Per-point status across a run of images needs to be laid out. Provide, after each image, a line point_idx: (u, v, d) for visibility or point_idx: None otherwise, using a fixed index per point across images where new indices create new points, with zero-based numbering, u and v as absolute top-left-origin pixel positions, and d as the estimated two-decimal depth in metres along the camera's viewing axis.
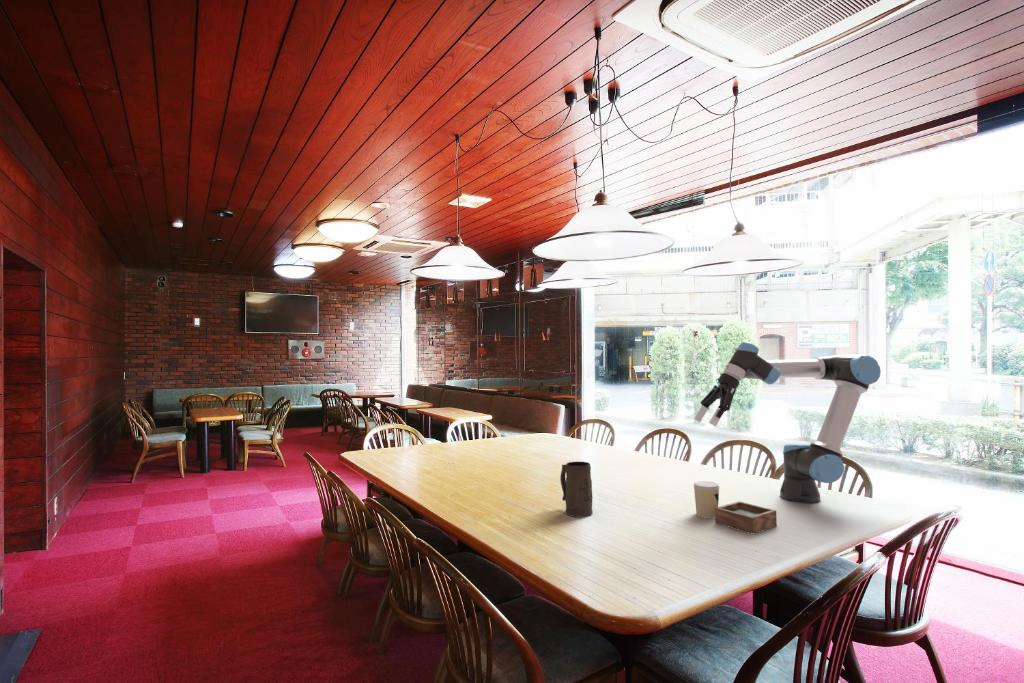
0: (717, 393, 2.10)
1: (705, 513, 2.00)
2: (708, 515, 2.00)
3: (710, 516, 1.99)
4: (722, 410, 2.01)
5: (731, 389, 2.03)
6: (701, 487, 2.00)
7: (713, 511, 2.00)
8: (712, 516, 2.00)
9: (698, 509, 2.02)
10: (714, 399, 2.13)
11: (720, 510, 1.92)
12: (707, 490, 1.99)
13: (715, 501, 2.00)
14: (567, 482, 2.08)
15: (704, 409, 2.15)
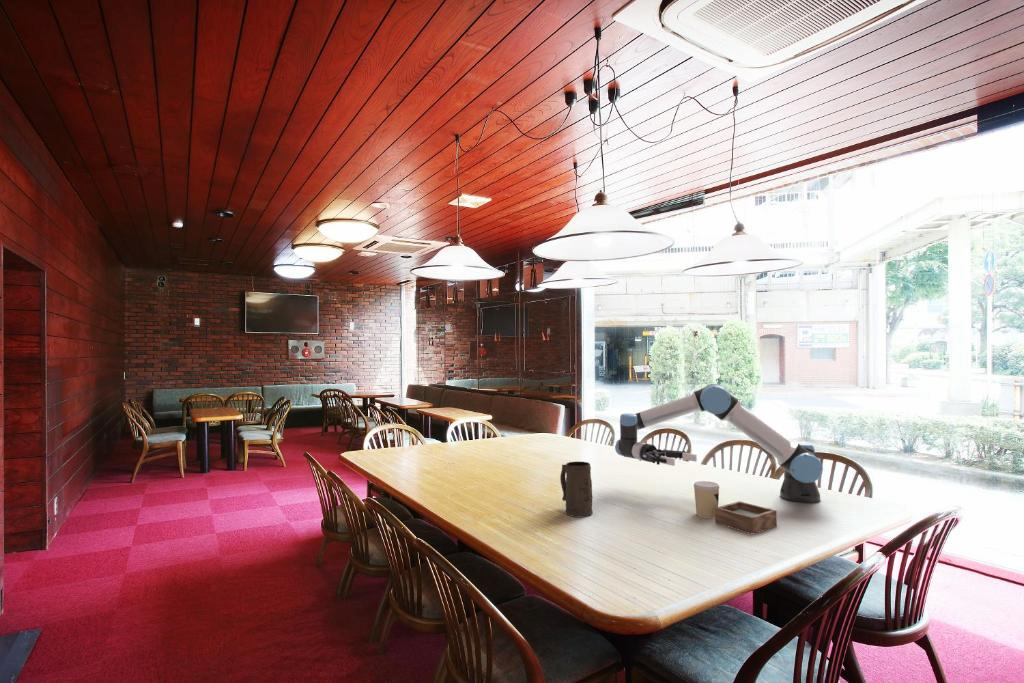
0: None
1: (705, 513, 2.00)
2: (708, 515, 2.00)
3: (710, 516, 1.99)
4: (658, 460, 2.13)
5: (644, 457, 2.21)
6: (701, 487, 2.00)
7: (713, 511, 2.00)
8: (712, 516, 2.00)
9: (698, 509, 2.02)
10: (670, 453, 2.23)
11: (720, 510, 1.92)
12: (707, 490, 1.99)
13: (715, 501, 2.00)
14: (567, 482, 2.08)
15: (684, 455, 2.20)
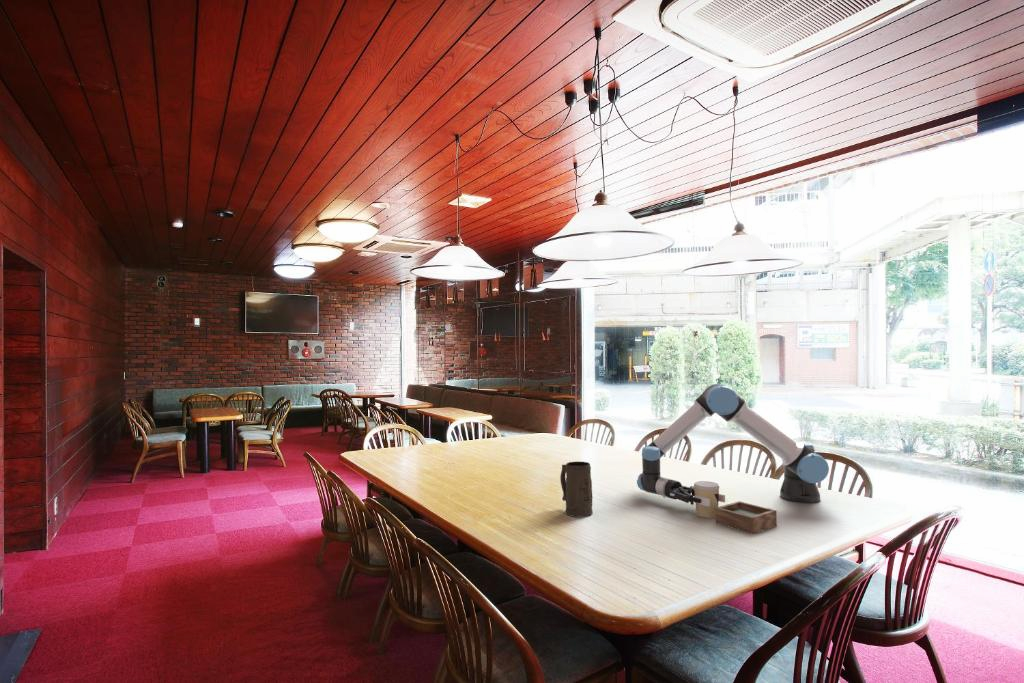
0: None
1: (705, 513, 2.00)
2: (708, 515, 2.00)
3: (710, 515, 2.00)
4: (692, 500, 2.01)
5: (671, 496, 2.09)
6: (701, 487, 2.00)
7: (713, 511, 2.00)
8: (712, 516, 2.00)
9: (698, 509, 2.02)
10: None
11: (720, 510, 1.92)
12: (707, 490, 1.99)
13: (715, 501, 2.00)
14: (567, 482, 2.08)
15: None
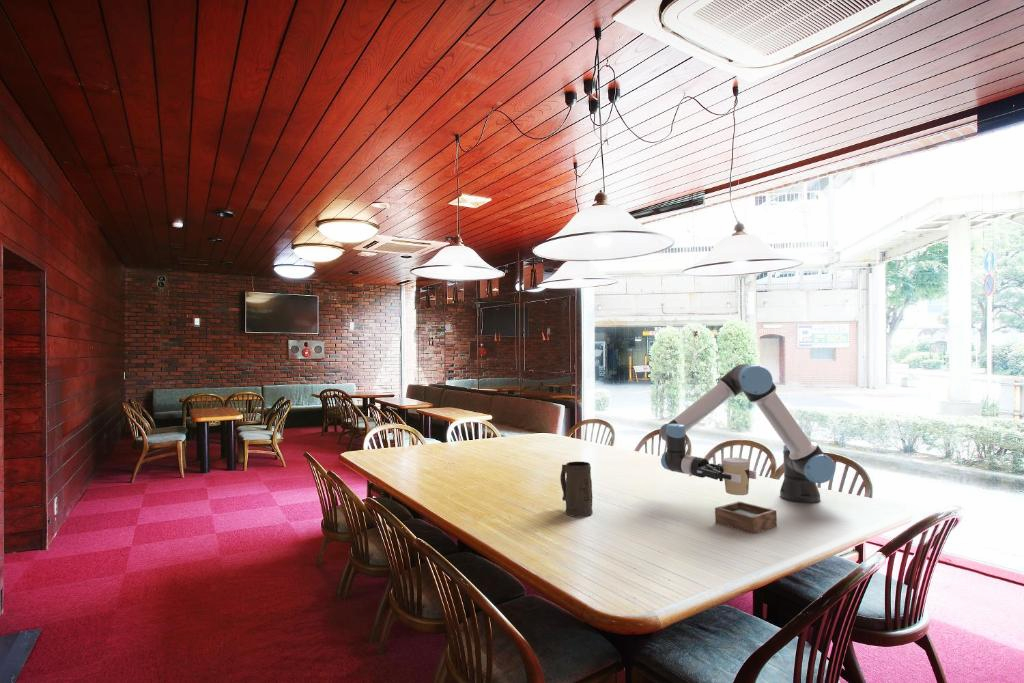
0: None
1: (735, 490, 1.91)
2: (739, 492, 1.90)
3: (740, 492, 1.90)
4: (721, 476, 1.92)
5: (699, 473, 2.00)
6: (731, 463, 1.91)
7: (743, 488, 1.90)
8: (743, 493, 1.90)
9: (728, 486, 1.93)
10: None
11: (720, 510, 1.92)
12: (737, 466, 1.90)
13: (746, 477, 1.90)
14: (567, 482, 2.08)
15: None
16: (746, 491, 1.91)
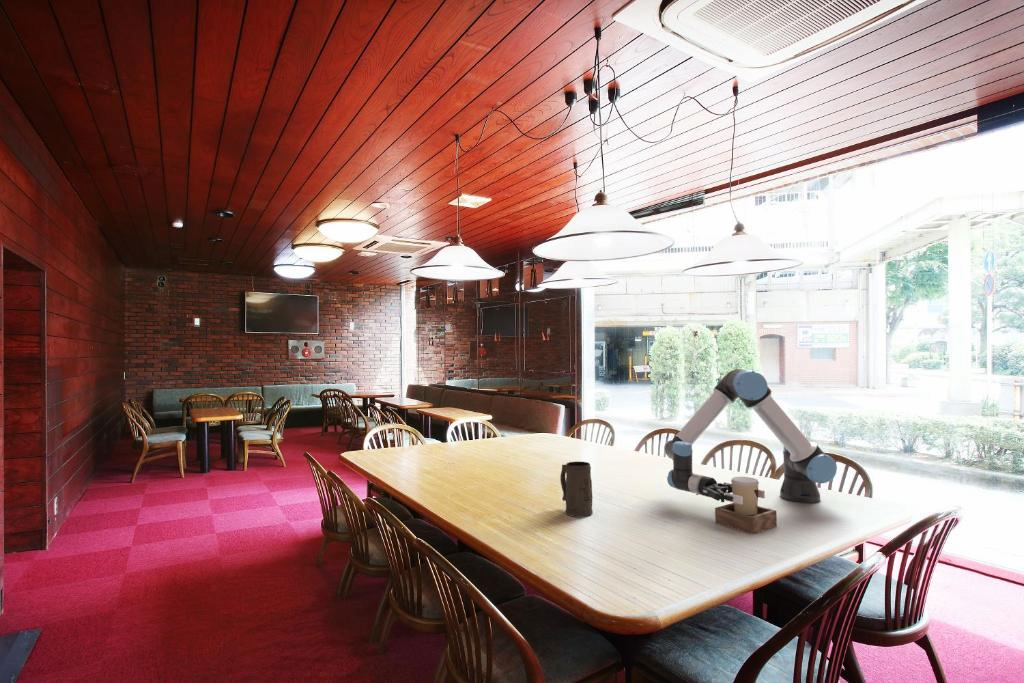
0: None
1: (744, 510, 1.91)
2: (748, 512, 1.91)
3: (749, 512, 1.91)
4: (723, 497, 1.90)
5: (704, 492, 1.99)
6: (740, 483, 1.91)
7: (752, 508, 1.91)
8: (752, 513, 1.91)
9: (737, 506, 1.93)
10: None
11: (720, 510, 1.92)
12: (746, 486, 1.90)
13: (755, 497, 1.91)
14: (567, 482, 2.08)
15: None
16: (755, 511, 1.91)
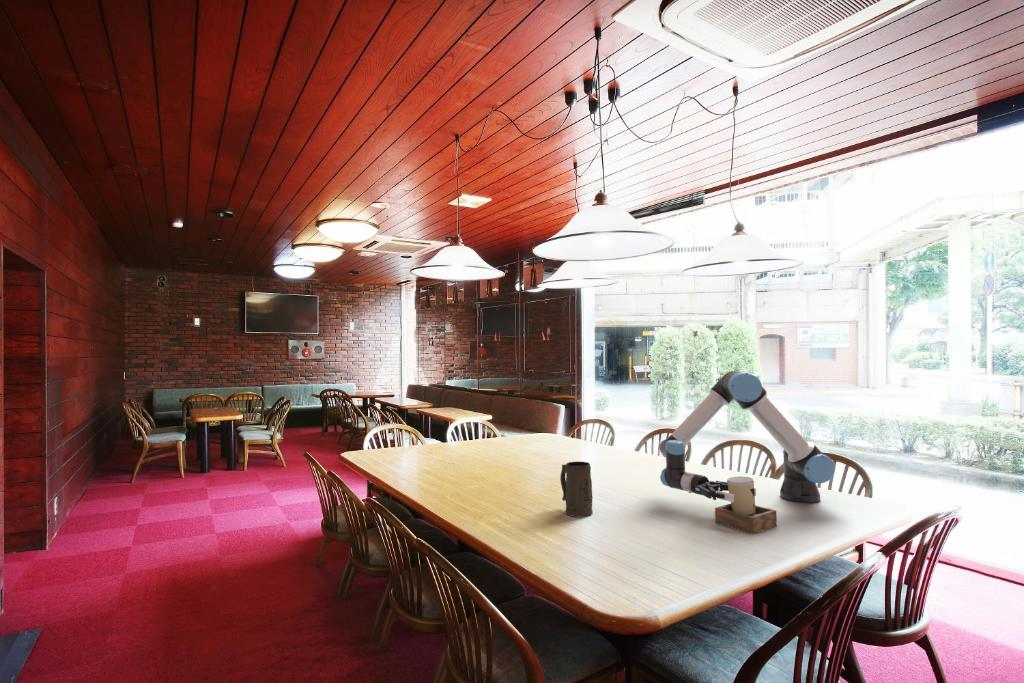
0: None
1: (742, 510, 1.92)
2: (746, 512, 1.91)
3: (747, 512, 1.91)
4: (715, 495, 1.93)
5: (696, 490, 2.01)
6: (736, 483, 1.92)
7: (750, 507, 1.91)
8: (750, 512, 1.91)
9: (734, 506, 1.94)
10: (725, 486, 2.03)
11: (720, 510, 1.92)
12: (742, 485, 1.91)
13: (751, 496, 1.91)
14: (567, 482, 2.08)
15: None
16: (753, 510, 1.92)
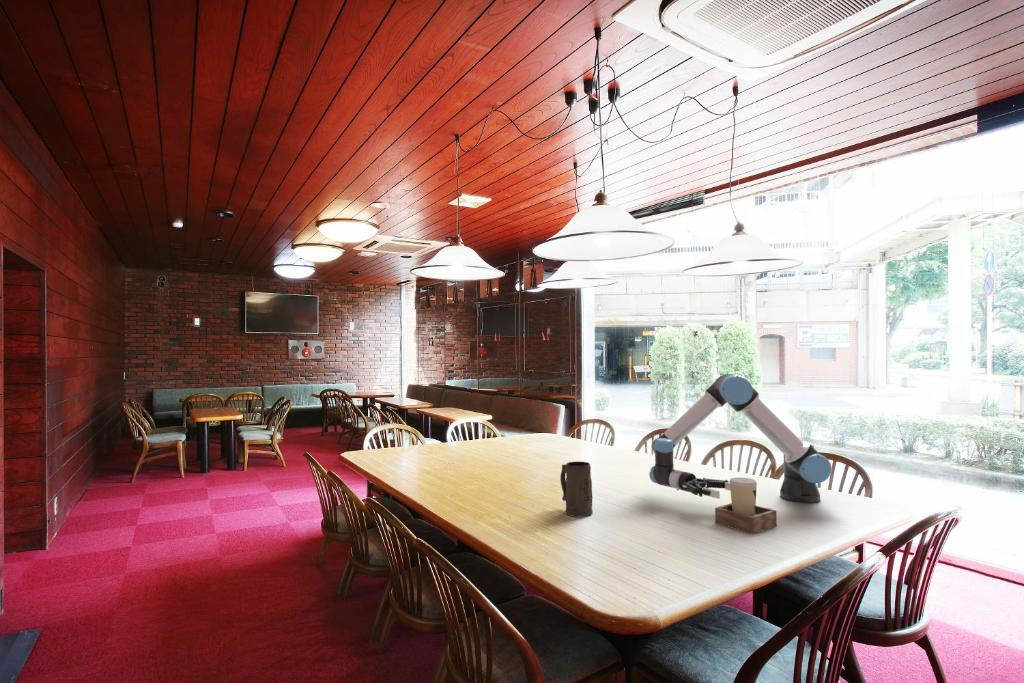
0: None
1: (743, 511, 1.91)
2: (747, 513, 1.91)
3: (748, 513, 1.91)
4: (701, 492, 1.97)
5: (684, 487, 2.06)
6: (739, 483, 1.92)
7: (751, 508, 1.91)
8: (750, 513, 1.91)
9: (735, 507, 1.93)
10: (711, 483, 2.08)
11: (720, 510, 1.92)
12: (746, 486, 1.91)
13: (753, 498, 1.91)
14: (567, 482, 2.08)
15: (727, 485, 2.05)
16: (753, 511, 1.92)
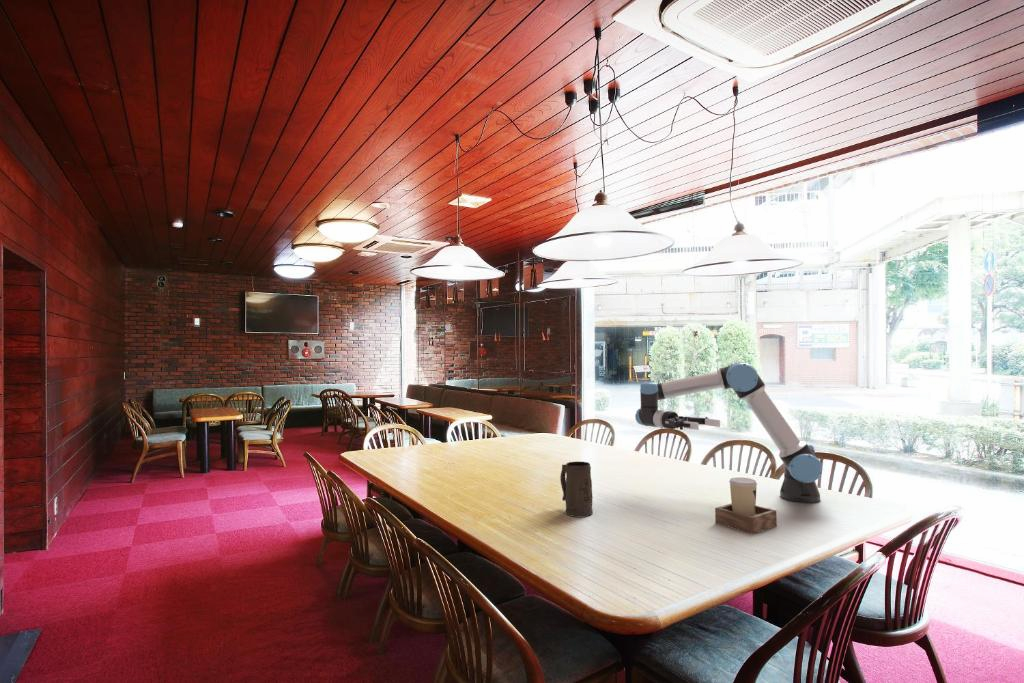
0: None
1: (743, 511, 1.91)
2: (747, 513, 1.91)
3: (748, 513, 1.91)
4: (681, 425, 2.10)
5: (666, 423, 2.19)
6: (739, 483, 1.92)
7: (751, 508, 1.91)
8: (750, 514, 1.91)
9: (735, 507, 1.93)
10: (692, 420, 2.21)
11: (720, 510, 1.92)
12: (746, 486, 1.91)
13: (753, 498, 1.91)
14: (567, 482, 2.08)
15: (707, 421, 2.18)
16: (753, 511, 1.92)
